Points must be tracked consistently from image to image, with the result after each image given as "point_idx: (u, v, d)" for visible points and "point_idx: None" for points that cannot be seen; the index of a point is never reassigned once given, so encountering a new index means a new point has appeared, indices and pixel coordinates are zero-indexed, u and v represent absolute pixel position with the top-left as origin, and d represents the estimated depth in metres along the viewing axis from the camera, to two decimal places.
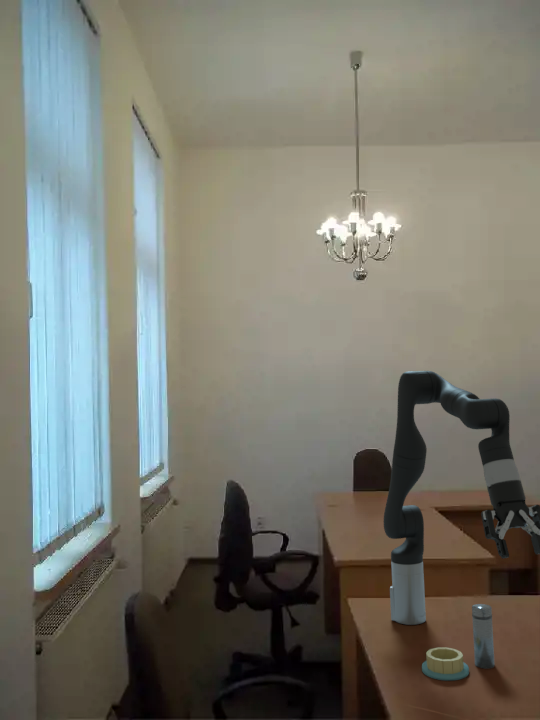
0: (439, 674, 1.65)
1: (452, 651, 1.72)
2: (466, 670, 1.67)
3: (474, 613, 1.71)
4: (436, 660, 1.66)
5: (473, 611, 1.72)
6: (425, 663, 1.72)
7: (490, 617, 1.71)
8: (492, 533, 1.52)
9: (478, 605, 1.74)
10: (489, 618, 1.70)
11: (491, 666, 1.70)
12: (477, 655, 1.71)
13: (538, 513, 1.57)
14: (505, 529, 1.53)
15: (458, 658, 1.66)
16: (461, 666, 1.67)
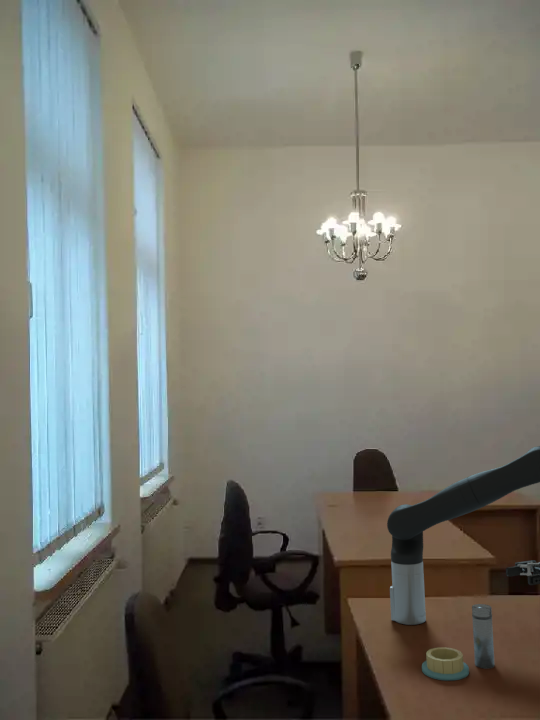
0: (439, 674, 1.65)
1: (452, 651, 1.72)
2: (466, 670, 1.67)
3: (474, 613, 1.71)
4: (436, 660, 1.66)
5: (473, 611, 1.72)
6: (425, 663, 1.72)
7: (490, 617, 1.71)
8: None
9: (478, 605, 1.74)
10: (489, 618, 1.70)
11: (491, 666, 1.70)
12: (477, 655, 1.71)
13: None
14: None
15: (458, 658, 1.66)
16: (461, 666, 1.67)
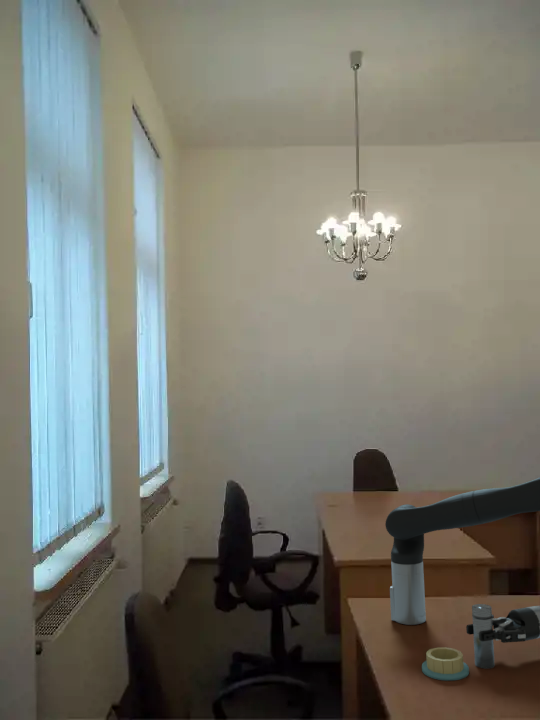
0: (439, 674, 1.65)
1: (452, 651, 1.72)
2: (466, 670, 1.67)
3: (474, 613, 1.71)
4: (436, 660, 1.66)
5: (473, 611, 1.72)
6: (425, 663, 1.72)
7: (490, 617, 1.71)
8: None
9: (478, 605, 1.74)
10: (489, 618, 1.70)
11: (491, 666, 1.70)
12: (477, 655, 1.71)
13: None
14: None
15: (458, 658, 1.66)
16: (461, 666, 1.67)
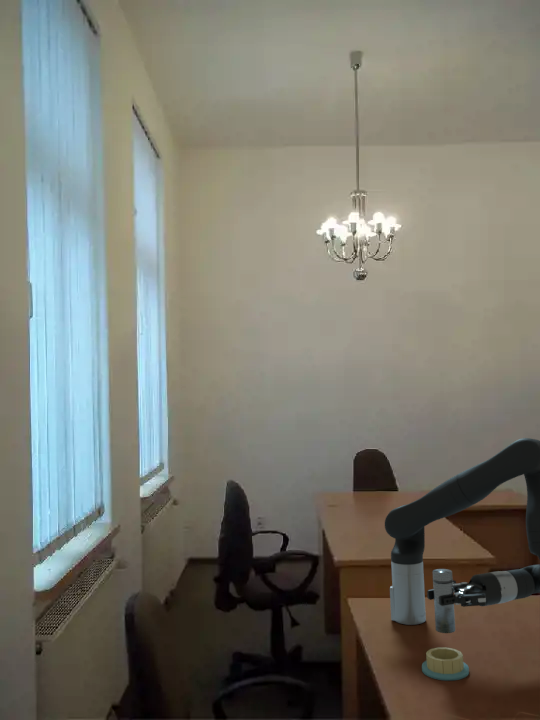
0: (439, 674, 1.65)
1: (452, 651, 1.72)
2: (466, 670, 1.67)
3: (434, 578, 1.69)
4: (436, 660, 1.66)
5: (433, 576, 1.70)
6: (425, 663, 1.72)
7: (450, 581, 1.68)
8: None
9: (439, 570, 1.71)
10: (449, 582, 1.68)
11: (451, 631, 1.68)
12: (438, 620, 1.69)
13: None
14: None
15: (458, 658, 1.66)
16: (461, 666, 1.67)
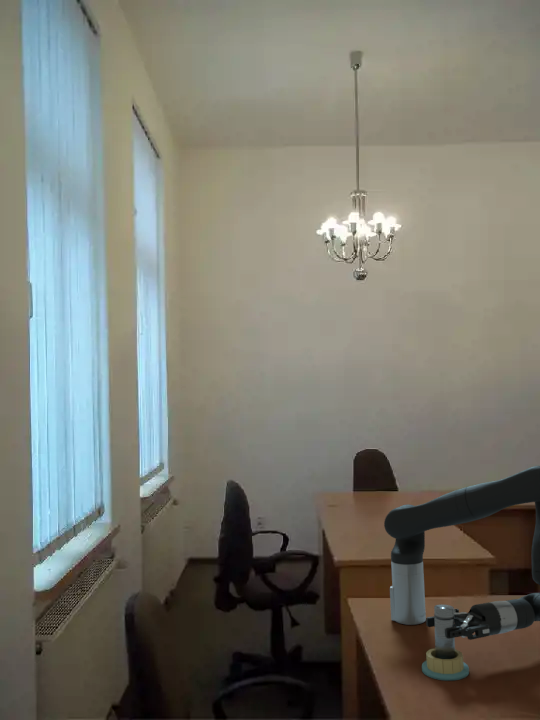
0: (439, 674, 1.65)
1: None
2: (466, 670, 1.67)
3: (436, 614, 1.69)
4: (436, 660, 1.66)
5: (435, 611, 1.69)
6: (425, 663, 1.72)
7: (452, 618, 1.68)
8: None
9: (441, 605, 1.71)
10: (451, 619, 1.68)
11: None
12: (438, 656, 1.68)
13: None
14: None
15: (458, 658, 1.66)
16: (461, 666, 1.67)
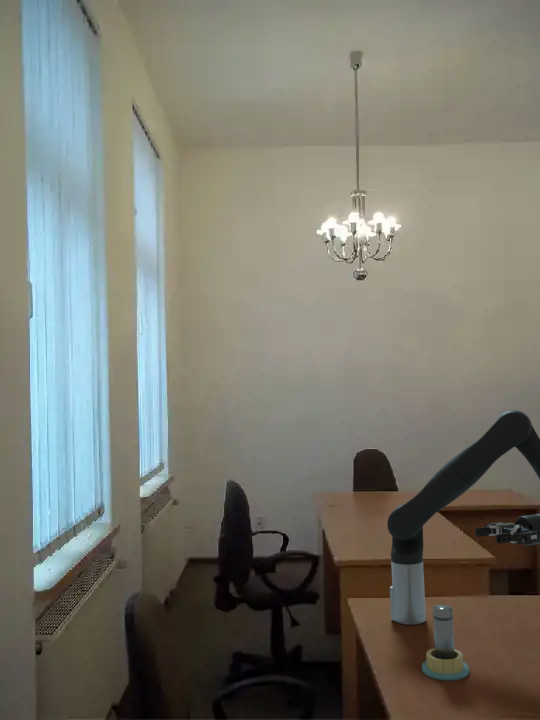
0: (439, 674, 1.65)
1: None
2: (466, 670, 1.67)
3: (434, 614, 1.69)
4: (436, 660, 1.66)
5: (434, 612, 1.69)
6: (425, 663, 1.72)
7: (451, 618, 1.68)
8: None
9: (439, 606, 1.71)
10: (450, 619, 1.68)
11: None
12: (438, 657, 1.68)
13: (499, 532, 1.87)
14: None
15: (458, 658, 1.66)
16: (461, 666, 1.67)
